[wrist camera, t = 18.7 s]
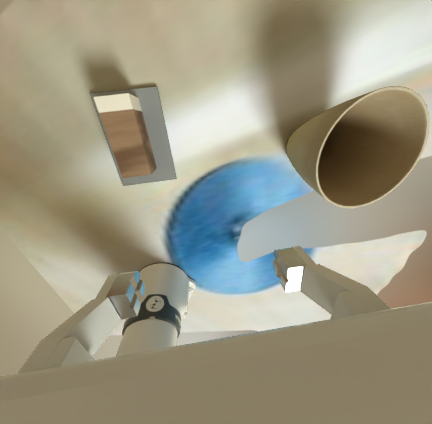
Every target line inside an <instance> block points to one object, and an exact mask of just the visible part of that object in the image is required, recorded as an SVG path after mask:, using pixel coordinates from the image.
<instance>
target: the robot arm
mask: <svg viewBox="0 0 432 424" xmlns="http://www.w3.org/2000/svg"><path fill="white" fill-rule="evenodd" d="M274 257H275V259H274V261H273V267H274V271H275V274H276V275H277V277H279V278H280V279H281V281H280V283H281V285H282V287H283V288H284V290H285V292H291V291H298V290H300V291H301V292H302V293H304V294H305V295H306V296H308V297H309V298H310V299H312V300H313V301H314V302H316V303H317V304H318V305H320V306H321V307H322V308H324V309H325V310H326V311H328V312H329V313H330V314H332V315H331V319H330V320H324V321H318V322H312V323H307V324H301V325H295V326H289V327H284V328H278V329H272V330H266V331H261V332H255V333H249V334H243V335H238V336H232V337H226V338H220V339H215V340H209V341H203V342H197V343H192V344H186V345H180V346H177V338H178V336H179V334H180V328H181V318H186V315H187V311H188V301H189V299H190V297H191V295H192V292H193V290H194V288H195V285H196V282H195V281H194V280H192V279H190V278H189V277H188V276H187V275H186V274H185V273H184V271H182V270H181V269H180V268H178V267H176V266H174V265H170V264H164V263H159V264H153V265H149V266H147V267H145V268H143V269H142V270H141V271H140V272H139V271H132V272H124V273H118V274H111V275H109V276H108V278H107V280H106V281H105V283H104V285H103V286H102V288H101V290H100V292H99V293H98V295H97V297H96V298H95V299H94V300H91V301H90V302H89V303H87V304H86V305H85V306H84V307H82V308H81V309H80V310H79V311H77V312H76V313H75V314H74V315H73V316H71V317H70V318H69V319H68V320H66V321H65V322H64V323H63V324H61V325H60V326H59V327H58V328H56V329H55V330H54V331H53V332H51V333H50V334H49V335H48V336H46V337H45V338H44V339H43V340H41V342H40V343H39V344H38V346H37V347H36V349H35V350H34V351H33V353H32V354H31V355H30V357H29V358H28V359H27V361H26V362H25V364H24V365H23V366H22V368H21V369H20V370H19V372H18V373H17V374H13V375H7V376H1V377H0V424H432V302H427V303H422V304H416V305H410V306H404V307H399V308H393V309H391V308H390V307H388V306H387V305H386V304H385V303H384V302H383V301H382V300H381V299H380V298H379V297H378V296H377V295H376V294H375V293H374V292H373V291H372V290H370V289H369V288H368V287H367V286H365V285H363V284H360V283H358V282H356V281H354V280H352V279H350V278H347V277H345V276H343V275H341V274H339V273H337V272H335V271H332V270H330V269H328V268H326V267H324V266H322V265H320V264H317V265H316V263H315V262H314V261H313V260H312V259H311V258H310V257H309V256H308V254H307V253H306V252H305V251H304V250H303V249H302V248H301V247H300V246H296V247H291V248H285V249H278V250H275V251H274ZM126 318H127V319H126ZM121 319H126V321H125V323H124V328H123V332H122V335H123V337H122V340H121V343H120V346H119V349H118V352H117V355H116V357H111V358H105V359H99V360H94V359H93V358H92V356H93V354H94V353H95V352H96V351H97V350H98V348H99V347H100V346H101V345H102V344H103V342H104V341H105V340H106V339H107V337H108V336H109V335H110V334H111V333H112V331H113V330H114V329H115V328H116V326H117V325H118V324H119V323H120V322H121Z"/></svg>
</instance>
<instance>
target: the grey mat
mask: <svg viewBox="0 0 432 424" xmlns="http://www.w3.org/2000/svg"><path fill="white" fill-rule="evenodd" d="M125 93H129V94H131V95H133V96H135V97H137V98H139V102H140V106H141V109H142V113H143V117H144V121H145V125H146V129H147V132H148V136H149V140H150V144H151V148H152V151H153V155H154V159H155V163H156V167H157V169H156V170H155V171H154V172H153V173H152V174H150V175H143V176H135V177H128V178H122V175H121V172H120V170H119V167H118V164H117V161H116V159H115V156H114V153H113V150H112V148H111V145H110V142H109V139H108V136H107V134H106V131H105V128H104V125H103V123H102V120H101V117H100V114H99V112H98V109H97V106H96V103H95V100H94V98H93V97H98V96H107V95H116V94H125ZM90 95H91V98H92V101H93V104H94V106H95V109H96V112H97V115H98V117H99V120H100V123H101V126H102V128H103V131H104V134H105V137H106V140H107V142H108V145H109V148H110V151H111V153H112V156H113V159H114V162H115V164H116V167H117V170H118V173H119V176H120V178H121V181H122V184H123V186H126V185H133V184H141V183H149V182H157V181H165V180H172V179H176V173H175V169H174V164H173V159H172V154H171V150H170V145H169V140H168V135H167V130H166V126H165V121H164V116H163V111H162V107H161V102H160V97H159V92H158V88H157V87H149V88H139V89H129V90H120V91H110V92H100V93H90Z"/></svg>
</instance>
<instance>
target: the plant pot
mask: <svg viewBox="0 0 432 424" xmlns="http://www.w3.org/2000/svg"><path fill="white" fill-rule="evenodd" d="M428 133H429V113H428V109H427V106H426V104H425V102H424V100H423V99H422V97H421V96H420V95H419V94H417V93H416V92H415V91H413V90H411V89H409V88H406V87H400V86H391V87H385V88H381V89H378V90H375V91H372V92H370V93H367V94H364V95H362V96H359V97H356V98H354V99H351V100H349V101H346V102H344V103H341V104H339V105H337V106H335V107H333V108H330V109H328V110H326V111H324V112H322V113H321V114H319V115H317V116H315V117H314V118H312V119H310V120H309V121H307V122H306V123H304V124H303V125H302V126H300V127H299V128H298V129H297V130H295V131H294V132H293V133H292V135H291V136H290V138H289V140H288V142H287V147H286V151H287V155H288V158H289V160H290V162H291V163H292V165H293V167H294V168H295V170H296V171H297V172H298V174H299V175H300V176H301V177H302V178H303V180H304V181H305V182H306V183H307V184H308V185H309V186H310V187H311V188H313V189H314V190H315V191H316V192H318V194H320V195H321V196H322V197H323V198H325V199H326V200H327V201H328V202H330V203H331V204H333V205H335V206H338V207H342V208H357V207H361V206H365V205H368V204H371V203H373V202H375V201H377V200H379V199H381V198H383V197H384V196H386V195H387V194H389V193H390V192H391V191H393V190H394V189H395V188H396V187H397V186H398V185H399V184H401V183H402V181H403V180H404V179H405V178H406V177H407V176H408V175H409V173H410V172H411V171H412V170H413V168H414V167H415V165H416V163H417V162H418V160H419V158H420V156H421V154H422V152H423V150H424V147H425V145H426V142H427V138H428Z"/></svg>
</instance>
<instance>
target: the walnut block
mask: <svg viewBox="0 0 432 424" xmlns="http://www.w3.org/2000/svg"><path fill="white" fill-rule="evenodd" d="M93 98H94V100H95V103H96V106H97V109H98V112H99V114H100V117H101V120H102V123H103V125H104V128H105V131H106V134H107V136H108V139H109V142H110V145H111V148H112V150H113V153H114V156H115V159H116V161H117V164H118V167H119V170H120V172H121V175H122V178H128V177H135V176H143V175H150V174H152V173H153V172H154V171H155V170H156V169H157V167H156V163H155V159H154V155H153V151H152V148H151V144H150V140H149V136H148V132H147V129H146V125H145V121H144V117H143V113H142V109H141V106H140V102H139V98H137V97H135V96H133V95H131V94H129V93H125V94H116V95H107V96H98V97H93Z"/></svg>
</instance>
